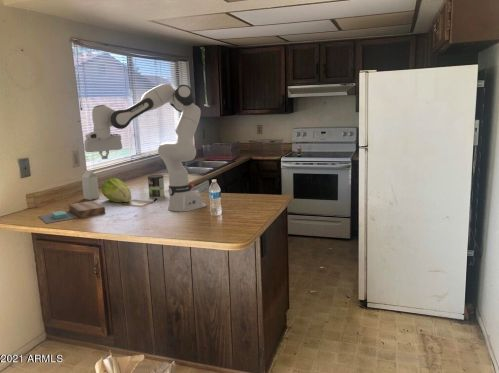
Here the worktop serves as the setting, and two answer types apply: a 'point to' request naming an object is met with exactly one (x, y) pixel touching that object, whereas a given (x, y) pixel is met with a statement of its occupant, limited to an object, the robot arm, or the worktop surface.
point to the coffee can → (156, 186)
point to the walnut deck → (86, 209)
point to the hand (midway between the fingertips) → (104, 159)
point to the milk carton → (90, 185)
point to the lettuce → (116, 190)
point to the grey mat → (51, 219)
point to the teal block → (59, 214)
